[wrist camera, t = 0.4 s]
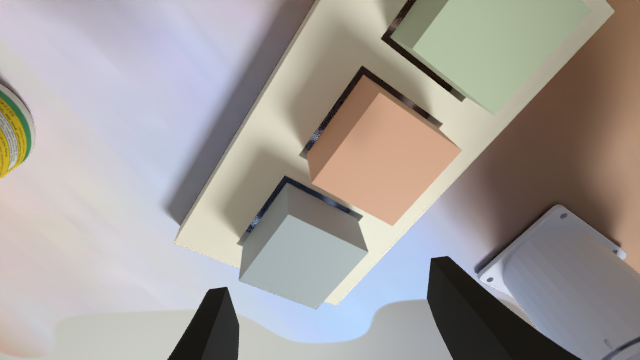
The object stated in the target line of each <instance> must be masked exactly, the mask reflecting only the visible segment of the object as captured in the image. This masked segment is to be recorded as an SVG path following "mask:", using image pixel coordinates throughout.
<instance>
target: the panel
mask: <svg viewBox="0 0 640 360" xmlns="http://www.w3.org/2000/svg"><path fill="white" fill-rule="evenodd" d="M583 1H584V3H585V4H586V5H587V6H588V7H589V8H590V10H591V11H590V12H589V13H588V14H587V15H586V16H585V17H584V18H583V20H582V21H581V22H580V23H579V24H578V25H577V26H576V27H575V28H574V29H573V30H572V32H571V33H570V34H569V35H568V36H567V37H566V38H565V39H564V40H563V41H562V42H561V44H560V45H559V46H558V47H557V48H556V49H555V50H554V51H553V52H552V53H551V54H550V55H549V57H548V58H547V59H546V60H545V61H544V62H543V63H542V64H541V65H540V66H539V67H538V69H537V70H536V71H535V72H534V73H533V74H532V75H531V76H530V77H529V78H528V79H527V81H526V82H525V83H524V84H523V85H522V86H521V87H520V88H519V89H518V90H517V91H516V92H515V94H514V95H513V96H512V97H511V98H510V99H509V100H508V101H507V102H506V103H505V104H504V106H503V107H502V108H501V109H500V110H499V111H498V112H497V113H496V114H495V115H493V114H492V113H490V112H489V111H487V110H486V109H484V108H482V107H481V106H479V105H478V104H476V103H474V102H473V101H471V100H470V99H468V98H467V97H465V96H463V95H462V94H461V93H460V92H458V91H457V90H456V89H454V88H453V89H452V90H451V91H450V92H448V91H446V90H445V89H444V88H443V87H441V86H440V85H439V84H437V83H436V82H435V81H434V80H432V79H431V78H430V77H429V76H427V75H426V74H425V73H423V72H422V71H421V70H420V69H418V68H417V67H416V66H414V65H413V64H412V63H411V62H409V61H408V60H407V59H405V58H404V57H403V56H402V55H400V54H399V53H398V52H396V51H395V50H394V49H393V48H391V47H390V46H389V45H388V44H386V43H385V42H384V41H382V40H381V37H382V36H383V35H384V33H385V32H386V30H387V29H388V27H389V26H390V25H391V23H392V22H393V20H394V19H395V17H396V16H397V15H398V13H399V12H400V10H401V9H402V8H403V6H404V5H405V3H406V2H407V0H315V2H314V4H313V5H312V7H311V9H310V10H309V12H308V14H307V15H306V17H305V19H304V20H303V22H302V24H301V25H300V27H299V29H298V30H297V32H296V34H295V35H294V37H293V39H292V40H291V42H290V44H289V45H288V47H287V49H286V50H285V52H284V54H283V55H282V57H281V59H280V60H279V62H278V64H277V65H276V67H275V69H274V70H273V72H272V74H271V75H270V77H269V79H268V80H267V82H266V84H265V85H264V87H263V89H262V90H261V92H260V94H259V95H258V97H257V99H256V100H255V102H254V104H253V105H252V107H251V109H250V110H249V112H248V114H247V116H246V117H245V119H244V121H243V122H242V124H241V126H240V127H239V129H238V131H237V132H236V134H235V136H234V137H233V139H232V141H231V142H230V144H229V146H228V147H227V149H226V151H225V152H224V154H223V156H222V157H221V159H220V161H219V162H218V164H217V166H216V167H215V169H214V171H213V172H212V174H211V176H210V177H209V179H208V181H207V182H206V184H205V186H204V187H203V189H202V191H201V192H200V194H199V196H198V197H197V199H196V201H195V202H194V204H193V206H192V207H191V209H190V211H189V212H188V214H187V216H186V217H185V219H184V221H183V222H182V224H181V226H180V228H179V230H178V233H177V236H176V238H175V241H174V243H175V244H177V245H180V246H182V247H185V248H188V249H190V250H193V251H195V252H198V253H201V254H203V255H206V256H208V257H211V258H214V259H216V260H219V261H221V262H224V263H227V264H229V265H232V266H234V267H237V268H240V266H241V257H242V249H243V243H244V242H245V240H246V239H247V237H248V236H249V235H250V232H248V231H246V230H247V228H248V227H249V225H250V224H251V222H252V221H253V220H254V218H255V217H256V215H257V214H258V212H259V211H260V210H261V208H262V207H263V205H264V204H265V203H266V201H267V200H268V198H269V197H270V195H271V194H272V193H273V191H274V190H275V188H276V187H277V185H278V184H279V183H280V181H281V180H282V178H283V177H284V175H286V176H288V177H289V178H291V179H293V180H295V181H297V182H299V183H301V184H303V185H305V186H307V187H309V188H311V189H313V190H314V191H316V192H318V193H320V194H322V195H324V196H326V197H328V198H330V199H332V200H334V201H336V202H337V203H339V204H341V205H343V206H345V207H347V208H349V209H351V211H350V212H349V213H348V214H349V215H351V216H353V217H355V218H357V220H358V223H359V226H360V228H361V231H362V234H363V237H364V240H365V243H366V246H367V249H368V254H367V255H366V256H365V257H364V258H363V259H362V260H361V261H360V262H359V263H358V264H357V266H356V267H355V268H354V269H353V270H352V271H351V272H350V273H349V274H348V275H347V276H346V278H345V279H344V280H343V281H342V282H341V283H340V284H339V285H338V286H337V287H336V288H335V289H334V291H333V292H332V293H331V294H330V295H329V296H328V297H327V298H326V299H325V300H324V301H325V302H328V303H331V304H333V305H337V304H338V303H339V302H340V301H341V300H342V299H343V298H344V297H345V296H346V295H347V294H348V293H349V292H350V291H351V290H352V289H353V288H354V286H355V285H356V284H357V283H358V282H359V281H360V280H361V279H362V278H363V277H364V276H365V275H366V274H367V273H368V272H369V271H370V270H371V269H372V267H373V266H374V265H375V264H376V263H377V262H378V261H379V260H380V259H381V258H382V257H383V256H384V255H385V254H386V253H387V252H388V251H389V250H390V248H391V247H392V246H393V245H394V244H395V243H396V242H397V241H398V240H399V239H400V238H401V237H402V236H403V235H404V234H405V233H406V232H407V231H408V229H409V228H410V227H411V226H412V225H413V224H414V223H415V222H416V221H417V220H418V219H419V218H420V217H421V216H422V215H423V214H424V213H425V212H426V210H427V209H428V208H429V207H430V206H431V205H432V204H433V203H434V202H435V201H436V200H437V199H438V198H439V197H440V196H441V195H442V194H443V193H444V191H445V190H446V189H447V188H448V187H449V186H450V185H451V184H452V183H453V182H454V181H455V180H456V179H457V178H458V177H459V176H460V175H461V174H462V172H463V171H464V170H465V169H466V168H467V167H468V166H469V165H470V164H471V163H472V162H473V161H474V160H475V159H476V158H477V157H478V156H479V155H480V153H481V152H482V151H483V150H484V149H485V148H486V147H487V146H488V145H489V144H490V143H491V142H492V141H493V140H494V139H495V138H496V137H497V136H498V134H499V133H500V132H501V131H502V130H503V129H504V128H505V127H506V126H507V125H508V124H509V123H510V122H511V121H512V120H513V119H514V118H515V117H516V115H517V114H518V113H519V112H520V111H521V110H522V109H523V108H524V107H525V106H526V105H527V104H528V103H529V102H530V101H531V100H532V99H533V98H534V96H535V95H536V94H537V93H538V92H539V91H540V90H541V89H542V88H543V87H544V86H545V85H546V84H547V83H548V82H549V81H550V80H551V79H552V77H553V76H554V75H555V74H556V73H557V72H558V71H559V70H560V69H561V68H562V67H563V66H564V65H565V64H566V63H567V62H568V61H569V60H570V58H571V57H572V56H573V55H574V54H575V53H576V52H577V51H578V50H579V49H580V48H581V47H582V46H583V45H584V44H585V43H586V42H587V41H588V39H589V38H590V37H591V36H592V35H593V34H594V33H595V32H596V31H597V30H598V29H599V28H600V27H601V26H602V25H603V24H604V23H605V22H606V20H607V19H608V18H609V17H610V16H611V15H612V14H613V13H614V12H615V11H614V10H613V9H612V7H611V6H610V5H609V4H608V3H607V1H606V0H583ZM362 65H363V66H364V67H365V68H367V69H368V70H369V71H371V72H372V73H374V74H375V75H376V76H378V77H379V78H380V79H382V80H383V81H385V82H386V83H387V84H389V85H390V86H392V87H393V88H394V89H396V90H397V91H398V92H400V93H401V94H403V95H404V96H405V97H407V98H408V99H409V100H411V101H412V102H414V103H415V104H416V105H418V106H419V107H420V108H422V109H423V110H425V111H426V112H427V113H429V114H430V116H429V117H428V119H427V120H428V121H429V122H431V123H432V124H434V125H435V126H436V127H437V128H438V129H440V130H441V131H442V132H443V133H444V134H445V135H446V136H447V137H448V138H449V139H450V140H451V141H452V142H453V143H455V144H456V145H457V146H458V147H459V148H460V149H461V150H462V151H461V152H460V153H459V155H458V156H457V157H456V158H455V159H454V160H453V161H452V162H451V163H450V164H449V165H448V166H447V168H446V169H445V170H444V171H443V172H442V173H441V174H440V175H439V176H438V177H437V178H436V180H435V181H434V182H433V183H432V184H431V185H430V186H429V187H428V188H427V189H426V190H425V192H424V193H423V194H422V195H421V196H420V197H419V198H418V199H417V200H416V201H415V202H414V204H413V205H412V206H411V207H410V208H409V209H408V210H407V211H406V212H405V213H404V214H403V215H402V217H401V218H400V219H399V220H398V221H397V222H396V223H395V224H394V225H393V226H391V225H389V224H387V223H386V222H384V221H382V220H380V219H378V218H376V217H374V216H372V215H370V214H368V213H367V212H365V211H363V210H361V209H359V208H357V207H355V206H353V205H351V204H350V203H348V202H346V201H344V200H342V199H340V198H338V197H336V196H334V195H333V194H331V193H329V192H327V191H325V190H323V189H321V188H319V187H317V186H315V185H314V184H312V183H311V177H310V172H309V166H308V160H307V153H308V152H309V150H308V149H306V148H305V146H306V144H307V143H308V141H309V140H310V138H311V137H312V136H313V134H314V133H315V131H316V130H317V129H318V127H319V126H320V124H321V123H322V121H323V120H324V119H325V117H326V116H327V114H328V113H329V111H330V110H331V109H332V107H333V106H334V104H335V103H336V101H337V100H338V99H339V97H340V96H341V94H342V93H343V92H344V90H345V89H346V87H347V86H348V84H349V83H350V82H351V80H352V79H353V77H354V76H355V74H356V73H357V72H358V70H359V69H360V67H361V66H362Z"/></svg>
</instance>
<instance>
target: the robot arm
mask: <svg viewBox="0 0 640 360" xmlns="http://www.w3.org/2000/svg"><path fill="white" fill-rule="evenodd" d="M626 256H627V253H626V252H625V251H624V250H622V249H621V248H620V247H618V246H617V245H615V244H614V243H613V242H611V241H610V240H609V239H607V238H606V237H605V236H603V235H602V234H600V233H599V232H598V231H596V230H595V229H594V228H592V227H591V226H590V225H588V224H587V223H586V222H584V221H583V220H581V219H580V218H579V217H577V216H576V215H575V214H573V213H572V212H571V211H569V210H568V209H566V208H565V207H564V206H562V205H555V206H553V207H552V208H551V209H550V210H549V211H547V212H546V213H545V214H544V215H543V216H542V217H541V218H540V219H538V220H537V221H536V222H535V223H534V224H533V225H532V226H531V227H529V228H528V229H527V230H526V231H525V232H524V233H523V234H522V235H520V236H519V237H518V238H517V239H516V240H515V241H514V242H512V243H511V244H510V245H509V246H508V247H507V248H506V249H505V250H503V251H502V252H501V253H500V254H499V255H498V256H497V257H496V258H494V259H493V260H492V261H491V262H490V263H489V264H488V265H487V266H485V267H484V268H483V269H482V270H481V271H480V272H479V273H478V275H477V277H478V279H479V280H480V281H481V282H483V283H485V284H487V285H489V286H491V287H493V288H495V289H497V290H499V291H501V292H503V293H505V294H507V295H508V296H510V297H512V298H514V299H515V300H516V301H517V302H518V304H519V305H520V306H521V308H522V309H523V310H524V312H525V313H526V315H527V316H528V317H529V319H530V320H531V321H532V323H533V324H534V325H535V327H536V328H537V329H538V331H537V330H536V329H534V328H533V327H532V326H531V325H529V324H528V323H526V322H525V321H524V320H523V319H521V318H520V317H519V316H517V315H516V314H515V313H513V312H512V311H511V310H510V309H508V308H507V307H506V306H505V305H503V304H502V303H501V302H500V301H499V300H497V299H496V298H495V297H494V296H493V295H491V294H490V293H489V292H488V291H487V290H486V289H484V288H483V287H482V286H481V285H480V284H479V283H477V282H476V281H475V280H474V279H473V278H472V277H471V276H470V275H469V274H467V273H466V272H465V271H464V270H463V269H462V268H461V267H460V266H459V265H457V264H456V263H455V262H454V261H453V260H452V259H451V258H450V257H448V256H445V257H437V258H431V263H430V273H429V283H428V292H427V300H428V303H429V305H430V309H431V311H432V314H433V317H434V320H435V322H436V325H437V327H438V329H439V332H440V334H441V336H442V338H443V340H444V342H445V344H446V346H447V348H448V350H449V352H450V354H451V356H452V358H453V360H640V274H639V273H638V272H637V271H635V270H634V269H633V268H632V267H630V266H629V265H628V264H627V263H626V262H624V261H623V259H625V258H626ZM238 347H239V323H238V320H237V317H236V313H235V310H234V307H233V304H232V301H231V297H230V294H229V291H228V288H227V287H222V288H215V289H209V290H208V292H207V293H206V295H205V297H204V299H203V301H202V302H201V304H200V306H199V308H198V310H197V312H196V313H195V315H194V317H193V319H192V320H191V322H190V324H189V326H188V327H187V329H186V331H185V333H184V334H183V336H182V337H181V339H180V341H179V342H178V344H177V345H176V347H175V349H174V350H173V352H172V353H171V355H170V356H169V358H168V359H167V360H237V359H238Z"/></svg>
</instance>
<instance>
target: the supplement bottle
mask: <svg viewBox="0 0 640 360" xmlns="http://www.w3.org/2000/svg"><path fill="white" fill-rule="evenodd" d="M35 136H36V134H35V126H34V122H33V120H32V117H31V115H30V113H29V111H28V110H27V108H26V107H25V105H24V104H23V103H22V102H21V101H20V100H19V99H18V97H17V96H16V95H14V94H13V93H12V92H11V91H10V90H9V89H7V88H6V87H4V86H3V85H1V84H0V179H2V178H3V177H5V176H6V175H7V174H9V173H10V172H11V171H13V170H14V169H15V168H17V167H18V166H19V165H21V164H22V163H23V162H25V161H26V160H27V159H28V157H29V156H30V155H31V153H32V152H33V150H34V145H35Z"/></svg>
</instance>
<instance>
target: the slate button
mask: <svg viewBox="0 0 640 360" xmlns="http://www.w3.org/2000/svg"><path fill="white" fill-rule="evenodd" d="M367 254H368V249H367V246H366V243H365V240H364V237H363V234H362V231H361V228H360V226H359V223H358V220H357V218H355V217H353V216H351V215H349V214H347V213H345V212H343V211H341V210H339V209H337V208H336V207H334V206H332V205H330V204H328V203H326V202H324V201H322V200H320V199H318V198H316V197H314V196H312V195H310V194H308V193H306V192H304V191H302V190H300V189H298V188H297V187H295V186H293V185H291V184H289V183H286V184H285V185H284V187H283V188H282V190H281V191H280V192H279V194H278V195H277V197H276V198H275V199H274V201H273V202H272V204H271V205H270V206H269V208H268V209H267V211H266V212H265V213H264V215H263V216H262V218H261V219H260V221H259V222H258V223H257V225H256V226H255V228H254V229H253V230H252V232H251V233H250V235H249V236H248V237H247V239H246V240H245V242H244V243H243V249H242V257H241V266H240V274H239V281H241V282H243V283H246V284H249V285H251V286H254V287H257V288H260V289H262V290H265V291H268V292H270V293H273V294H276V295H278V296H281V297H284V298H287V299H289V300H292V301H295V302H297V303H300V304H303V305H305V306H308V307H311V308H314V309H317V308H318V307H319V306H320V305H321V304H322V303H323V301H324V300H325V299H326V298H327V297H328V296H329V295H330V294H331V293H332V292H333V291H334V289H335V288H336V287H337V286H338V285H339V284H340V283H341V282H342V281H343V280H344V279H345V278H346V276H347V275H348V274H349V273H350V272H351V271H352V270H353V269H354V268H355V267H356V266H357V264H358V263H359V262H360V261H361V260H362V259H363V258H364V257H365V256H366V255H367Z"/></svg>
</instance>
